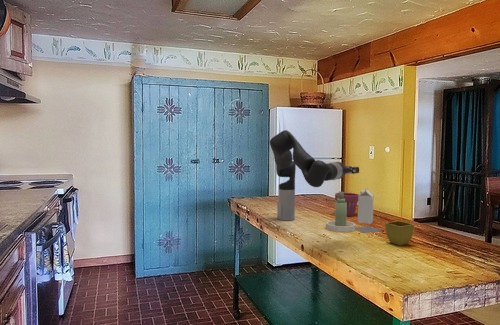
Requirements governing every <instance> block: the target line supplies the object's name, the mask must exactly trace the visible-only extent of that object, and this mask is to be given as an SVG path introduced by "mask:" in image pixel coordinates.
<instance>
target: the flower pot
mask: <svg viewBox="0 0 500 325" xmlns="http://www.w3.org/2000/svg"><path fill="white" fill-rule="evenodd" d="M384 227H385V234H386V238H388V241H389V242H390V243H391V244H395V245H397V246H403V245H408V244H409V243H410V242H411V240H412V238H413V234H414V230H415V224H414V223H409V222H406V221H401V220H394V221H388V222H385V223H384Z"/></svg>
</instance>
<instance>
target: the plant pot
mask: <svg viewBox="0 0 500 325" xmlns="http://www.w3.org/2000/svg"><path fill="white" fill-rule="evenodd" d="M334 194H335V195H334V200H335V202H337V198H339V192H336V193H334ZM359 195H360V194H359V193H355V192H344V198H345V202H347V217H354V216H355V214H356V209H357V207H358V196H359Z"/></svg>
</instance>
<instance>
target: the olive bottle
mask: <svg viewBox="0 0 500 325" xmlns="http://www.w3.org/2000/svg"><path fill="white" fill-rule="evenodd" d="M338 193H339V198H337V201H335V203H334V204H335V205H334V206H335V207H334V210H335V211H334V221H335V226H346V221H347V217H348V216H347V202H345V198H344V193H345V192H344V191H338Z"/></svg>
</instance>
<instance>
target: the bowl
mask: <svg viewBox="0 0 500 325" xmlns="http://www.w3.org/2000/svg"><path fill="white" fill-rule="evenodd" d="M356 225H357V224H356V223H354V222H352V221H349V220H346V226H335V220H329V221H326V223H325V228H326V230H328V231H330V232H331V231H332V232H336V233H350V232H351V233H352V232H355V231H356V227H357V226H356Z"/></svg>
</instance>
